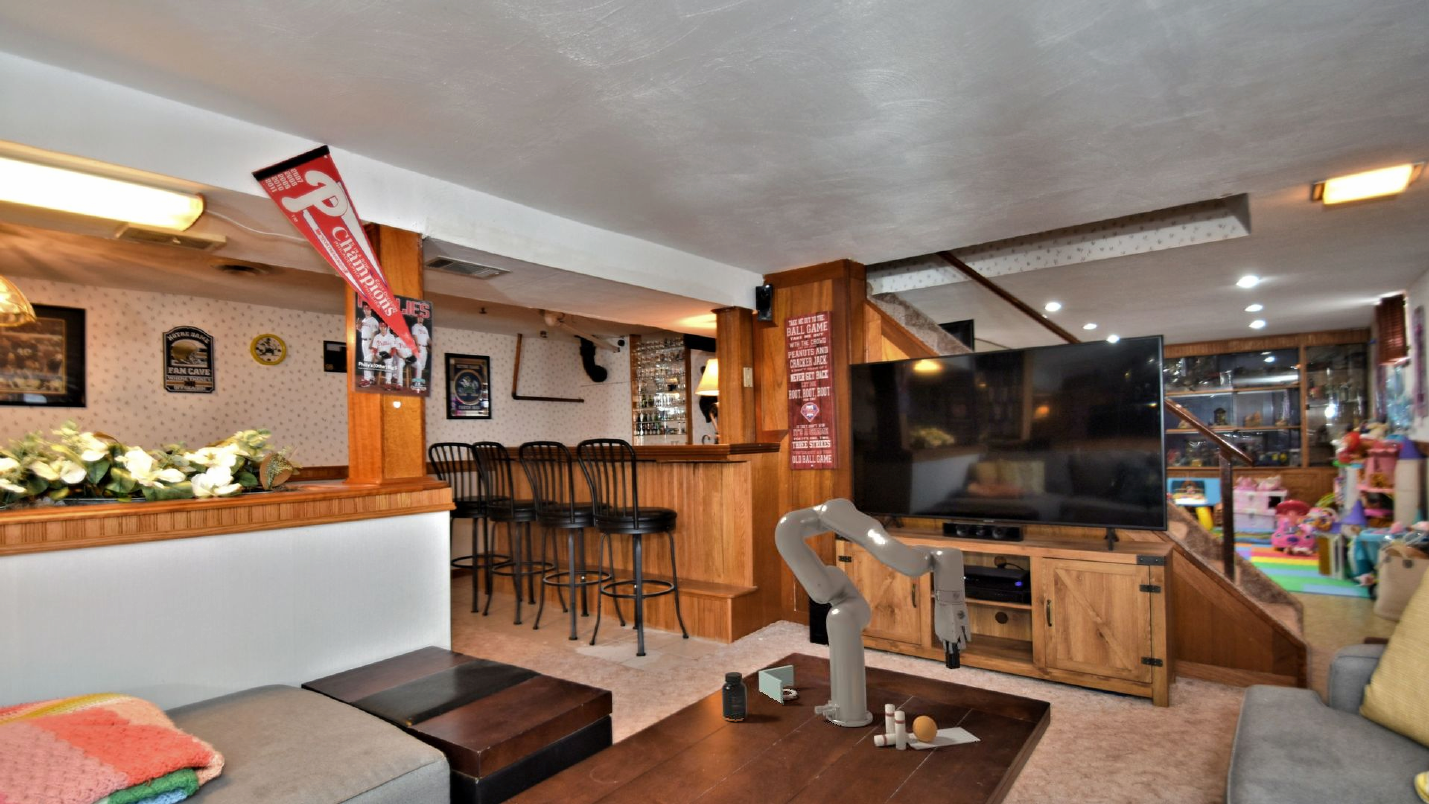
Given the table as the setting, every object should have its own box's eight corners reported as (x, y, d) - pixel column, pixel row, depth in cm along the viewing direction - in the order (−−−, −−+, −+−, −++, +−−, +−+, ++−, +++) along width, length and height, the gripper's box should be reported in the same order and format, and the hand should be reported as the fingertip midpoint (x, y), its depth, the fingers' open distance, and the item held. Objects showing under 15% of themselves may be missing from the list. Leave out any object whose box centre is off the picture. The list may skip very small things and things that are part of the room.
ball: (931, 714, 177) (946, 732, 178) (918, 707, 183) (933, 725, 183) (916, 732, 176) (931, 750, 176) (903, 725, 181) (918, 742, 182)
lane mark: (916, 749, 174) (916, 748, 174) (898, 735, 183) (898, 734, 183) (980, 740, 179) (980, 739, 179) (959, 727, 187) (959, 726, 187)
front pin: (910, 743, 177) (878, 747, 175) (905, 741, 180) (874, 744, 178) (909, 733, 178) (878, 736, 176) (904, 730, 180) (873, 734, 178)
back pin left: (889, 742, 179) (887, 707, 179) (884, 738, 181) (883, 704, 182) (898, 741, 179) (896, 706, 180) (893, 737, 182) (892, 703, 182)
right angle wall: (780, 708, 206) (780, 681, 207) (759, 696, 217) (758, 671, 218) (814, 700, 212) (813, 674, 213) (792, 689, 223) (791, 665, 223)
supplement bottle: (750, 715, 200) (749, 671, 201) (743, 723, 193) (742, 678, 194) (727, 712, 202) (726, 669, 203) (719, 721, 196) (718, 676, 197)
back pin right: (899, 750, 174) (897, 714, 175) (894, 746, 176) (892, 711, 177) (908, 749, 175) (906, 713, 175) (903, 745, 177) (901, 710, 178)
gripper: (979, 600, 178) (983, 674, 177) (946, 589, 193) (949, 658, 191) (953, 602, 177) (956, 677, 175) (921, 591, 191) (924, 661, 190)
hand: (953, 667), depth 183 cm, fingers closed
